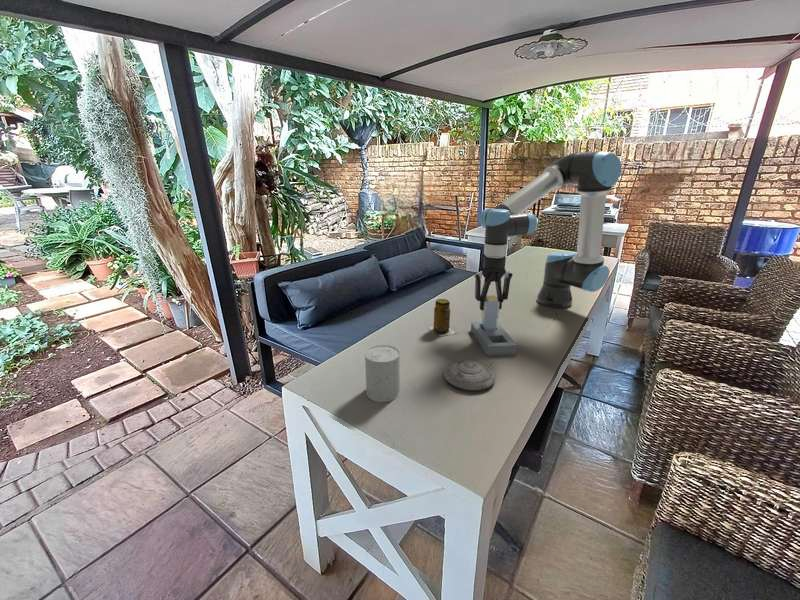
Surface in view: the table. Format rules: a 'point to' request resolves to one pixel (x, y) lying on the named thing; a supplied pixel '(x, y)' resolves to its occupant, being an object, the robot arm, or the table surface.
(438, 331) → the condiment
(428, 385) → the table surface
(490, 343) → the panel
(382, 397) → the pale grey cylinder
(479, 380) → the flying saucer
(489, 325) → the plug
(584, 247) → the robot arm
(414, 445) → the table surface
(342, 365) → the table surface
